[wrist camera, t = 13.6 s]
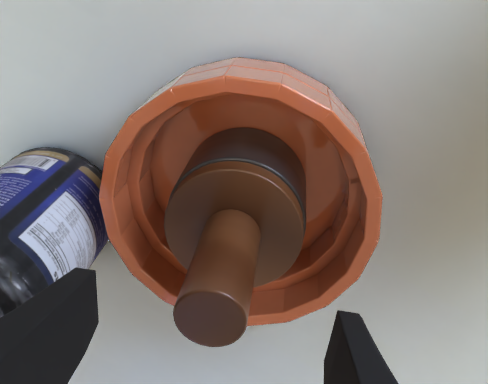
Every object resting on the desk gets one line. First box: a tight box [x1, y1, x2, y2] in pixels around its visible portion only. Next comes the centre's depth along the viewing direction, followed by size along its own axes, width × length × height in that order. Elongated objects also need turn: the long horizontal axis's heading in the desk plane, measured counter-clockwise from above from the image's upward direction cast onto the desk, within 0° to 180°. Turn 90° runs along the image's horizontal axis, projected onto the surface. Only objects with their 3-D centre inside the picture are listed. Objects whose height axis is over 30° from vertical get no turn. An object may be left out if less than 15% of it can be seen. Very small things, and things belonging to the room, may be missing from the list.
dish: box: [99, 57, 383, 326], centre depth 20 cm, size 11×11×4 cm
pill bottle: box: [0, 147, 109, 318], centre depth 18 cm, size 6×6×11 cm
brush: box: [164, 128, 306, 347], centre depth 17 cm, size 6×6×9 cm
